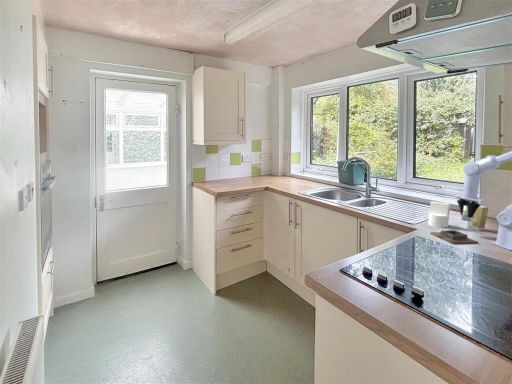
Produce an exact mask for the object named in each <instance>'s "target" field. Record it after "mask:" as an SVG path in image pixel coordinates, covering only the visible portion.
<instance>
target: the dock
mask: <svg viewBox="0 0 512 384" xmlns="http://www.w3.org/2000/svg"><path fill="white" fill-rule="evenodd" d="M430 235H432V236H434V237H436V238H439V239H440V240H443V241H445V242H447V243H450V244H452V245H465V244H466V245H468V244H469V245H470V244H473V245H475V244H479V241H478V240H475V239H472V238H470V237H468V234H466V233H464V232H461V231H458V230H456V229H453V230H452V229H451V230H450V229H449V230H441V231H438V232H433V231H432V232H430Z"/></svg>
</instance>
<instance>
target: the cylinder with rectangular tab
mask: <svg viewBox="0 0 512 384" xmlns="http://www.w3.org/2000/svg"><path fill="white" fill-rule="evenodd" d="M429 204H430V205H429V212H428V223H427V224H428V225H429V226H430V227H431V226H432V227H436V228H448V227H449V219H450V212H451V203H446V202H440V201H432V200H431V201H430V203H429Z"/></svg>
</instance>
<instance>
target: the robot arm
mask: <svg viewBox="0 0 512 384" xmlns="http://www.w3.org/2000/svg"><path fill="white" fill-rule="evenodd" d="M510 161H512V150H511V151H508V152H505V153H503V154H501V155H499V156H496V155H492V154H490V155H486V157H484V158H481V159H475V161H474V162H473V161H469V162H467V163H465V164H464V166H463V172H464V173H465V175H464V181H463V187H462V188H463V190H462V194H458V193H457V194H455V199H457V200H456V202H457V204H458V206H459V211H460V212H459V213H460V215H461V216H462V213H463V206H464V205H468V217H473V216H474V214H475V212H476V210H477V209H478V207H479V206H480V205H481V206H482V205H485V199H482V198H479V197H478V193H479V186H480V181H481V175H483V173H485V172H488V171H491V170H494V169H497V168H499V167H500V166H501V164H504V163H508V162H510ZM496 220H497V222H498V230H497V234H496V241H490V244H493V245H495V246H498V247H500V248H504V249H506V250H509V251H512V203H511V204H509V205H508V206H506V207H505V209H504V210H502V211H500V212H499V213H498V214H497V216H496Z"/></svg>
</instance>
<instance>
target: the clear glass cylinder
mask: <svg viewBox="0 0 512 384" xmlns="http://www.w3.org/2000/svg"><path fill="white" fill-rule="evenodd" d="M461 221H465V222H468V221H471V217H468V205H464V206H463V213H462V215H461Z"/></svg>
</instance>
